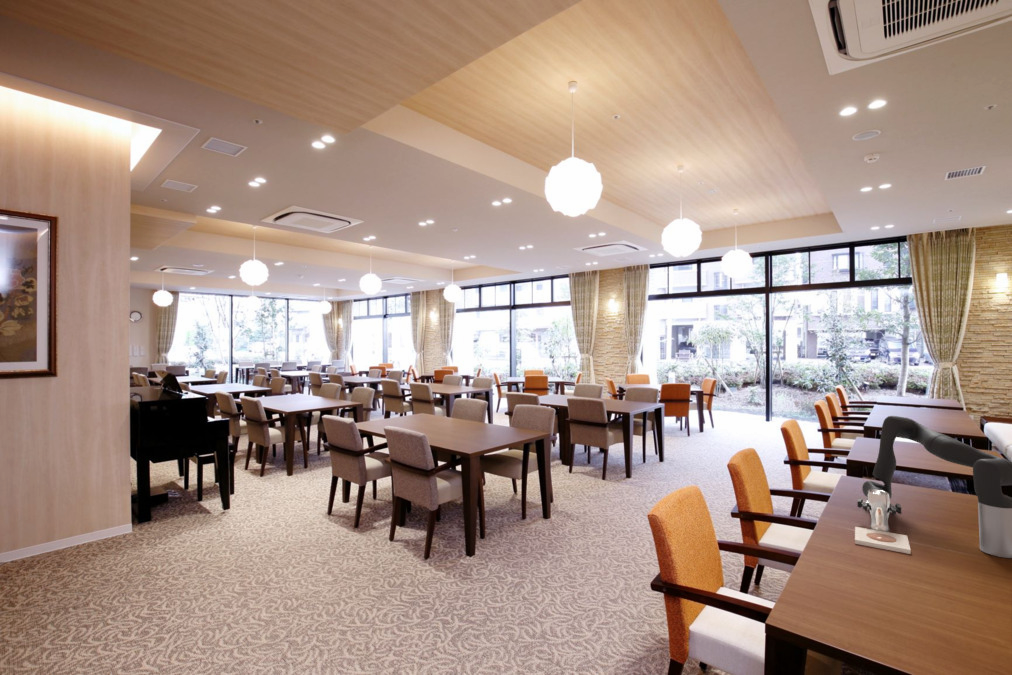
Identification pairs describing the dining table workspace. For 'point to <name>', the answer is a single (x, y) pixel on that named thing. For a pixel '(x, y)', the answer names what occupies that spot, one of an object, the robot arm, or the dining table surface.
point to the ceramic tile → (882, 540)
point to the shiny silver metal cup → (879, 509)
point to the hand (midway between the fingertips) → (879, 510)
